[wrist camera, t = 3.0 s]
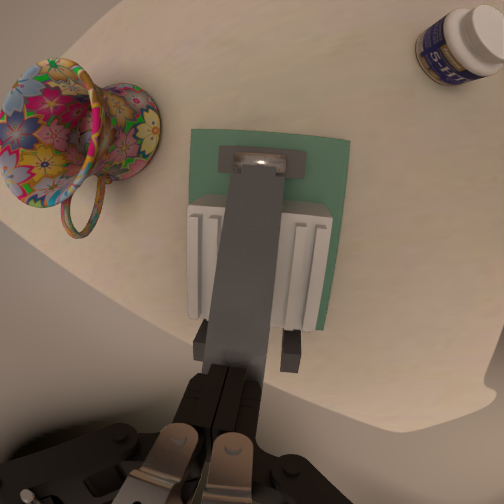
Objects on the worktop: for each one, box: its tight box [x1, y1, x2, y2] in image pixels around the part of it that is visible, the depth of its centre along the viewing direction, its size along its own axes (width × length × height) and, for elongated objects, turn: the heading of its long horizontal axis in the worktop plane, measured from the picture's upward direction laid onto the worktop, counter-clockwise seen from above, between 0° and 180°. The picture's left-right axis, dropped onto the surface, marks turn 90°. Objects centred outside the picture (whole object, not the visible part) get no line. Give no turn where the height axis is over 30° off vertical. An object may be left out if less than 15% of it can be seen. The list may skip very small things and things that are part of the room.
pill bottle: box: [416, 5, 504, 86], centre depth 15 cm, size 5×5×9 cm
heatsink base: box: [187, 129, 350, 373], centre depth 22 cm, size 12×16×8 cm
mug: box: [0, 58, 160, 239], centre depth 20 cm, size 12×9×11 cm
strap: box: [202, 152, 287, 395], centre depth 15 cm, size 3×12×1 cm
